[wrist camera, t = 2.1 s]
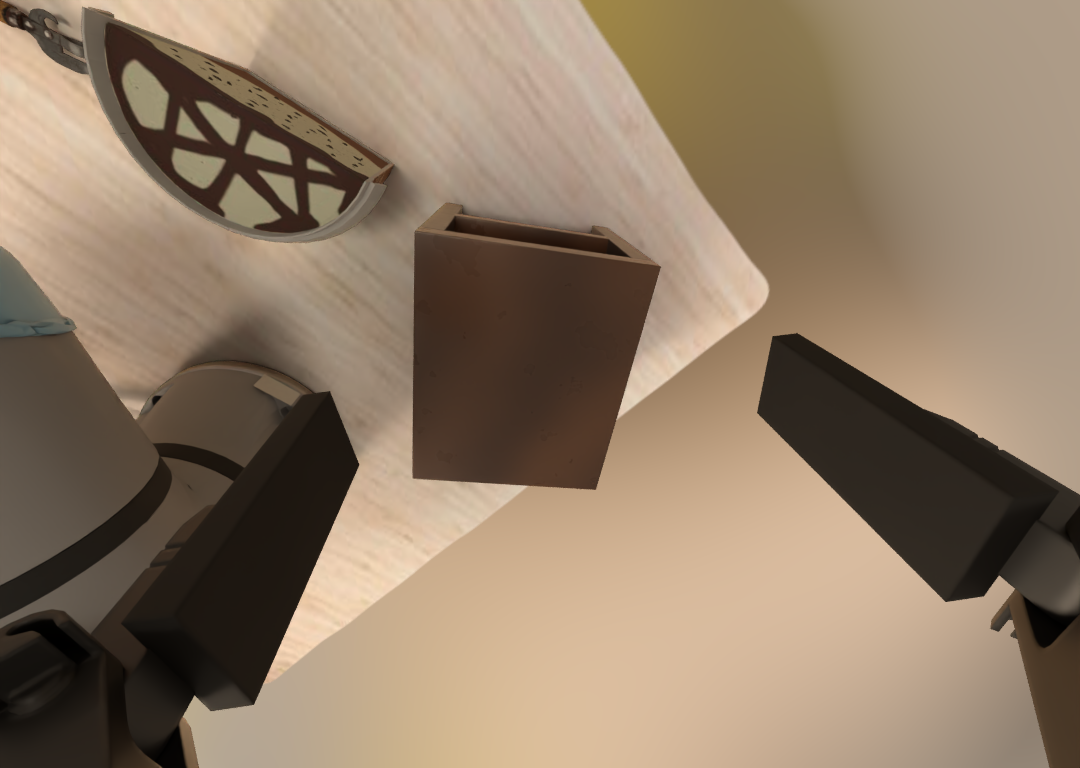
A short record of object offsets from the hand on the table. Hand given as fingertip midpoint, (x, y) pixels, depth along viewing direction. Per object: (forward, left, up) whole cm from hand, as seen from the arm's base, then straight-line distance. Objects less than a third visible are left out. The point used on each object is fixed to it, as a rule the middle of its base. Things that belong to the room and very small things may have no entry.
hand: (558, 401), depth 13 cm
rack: (0, -5, -22) cm, 22 cm away
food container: (-15, +4, -22) cm, 27 cm away
